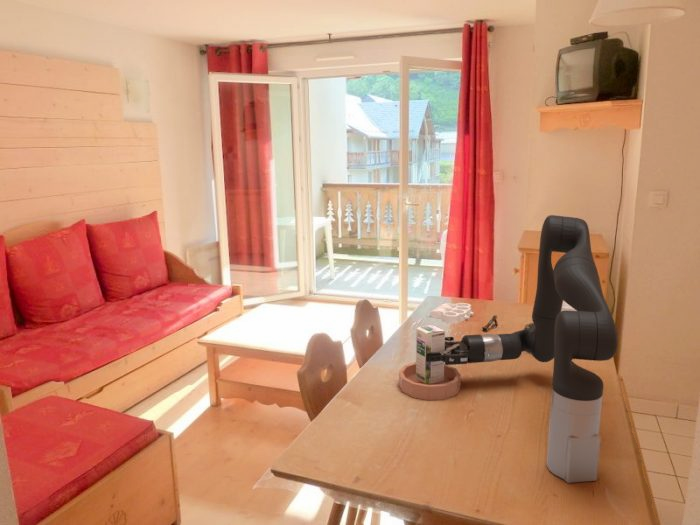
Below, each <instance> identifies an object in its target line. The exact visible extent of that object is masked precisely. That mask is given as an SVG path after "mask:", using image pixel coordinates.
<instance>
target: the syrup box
mask: <svg viewBox="0 0 700 525" xmlns="http://www.w3.org/2000/svg"><path fill="white" fill-rule="evenodd" d="M415 334H416V339H415V340H416V341H415V342H416V345H415V348H416V350H415V352H416V353H415V357H416V358H415V362H416V378H417V379H419V380H421V381H422V382H424V383H426V384H427V385H429V384H433V383H437V382H440V381H443V380H444V364H445V362H441V361H434V362H427V361H426V353H436V352H440V354H441V352H443V351H445V337H446V331H445V330H444V329H442V328H439V327H437V326H435V325H433V324H428V325H422V326H419V327H417V328H416V332H415Z"/></svg>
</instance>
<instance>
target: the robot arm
mask: <svg viewBox="0 0 700 525" xmlns="http://www.w3.org/2000/svg"><path fill="white" fill-rule="evenodd" d="M541 227H542V228H541V231H540V232H541V233H540V238H539V239H540V240H539V241H540V242H539V249H538V252H539V253H538V261H537V262H538V263H537V281H536V293H535V297H534V298H535V299H534V304H533V308H532V315H531V319H532V323H534V325H535V328H528V329H524V328H523V329H521V330H517V331H515V332H512V333H499V334H498V333H481V334H467V335H466V334H465V335H463V336H462V338H461V340H460V341H459V340H455V338H454V336H445V351H443V352H441V354H440V352H436V353H426V361H427V362H434V361H441V362H444V364H445V365H449V366H453V365H454V366H455V365H467V364H477V363H478V364H479V363H480V364H481V363H491V362H492V363H493V362H496V361H497V362H498V361H506V360H507V361H508V360H509V361H510V360H517V359H519V358H520V357H521V355H522V354H523V352H528V351H529V352H528V353H529V354H530V355H532V357H533V358H534V359H535V360H537V361H538V362H541V363H548V362H551V361H552V360H553V373H552V382H551V383H552V386H551V398H550V409H549V422H548V423H549V424H548V438H547V451H546V452H547V453H546V454H547V455H546V467H547V469H548V470H549V471H550V472H551V473H552V474H553V475H554V476H556V477H558V478H560V479H562V480H564V481H565V482H566V483H568V484H569V483H581V482H583V483H584V482H594V481H595V482H596V481H597V479H598V471H599V470H598V468H599V458H600V448H601V440H602V439H601V436H600V424H601V416H602V405H603V397H604V396H603V394H604V382H603V380H602V377H600V376H599V375H598V374H596V373H595V372H593V371H591V370H589V369H586V368H584V367H582V366H580V365H578V364H576V363H575V362H574V361H573V360H583V361H593V362H594V361H597V362H598V361H599V362H603V361H608V360H612V358H614V356H615V355H616V353H617V351H618V344H619V337H618V331H617V330H618V329H617V326H616V323H615V320H614V318H613V315H612V313H611V310H610V308H609V306H608V303H607V302H606V298H605V296H604V294H603V293H604V292H603V289H602V285H601V280H600V279H601V278H600V276H599V273H598V268H597V265H596V263H595V259H594V255H593V253H592V246H591V237H590V236H591V235H590V229H589V225H588V223H587V222H586V220H584V219H582V218H579V217H572V216H566V215H565V216H564V215H563V216H562V215H553V214H551V215H547V216H546V217H545V219H544V220H543V224H542V226H541ZM554 252H557V253H564V254H563V255H562V256H560V258H559V259H558V260H557V262H556V263H555V264H554V266H553V262H552V255H553V254H552V253H554ZM563 302H566V303H567V304H568V305H570V306H571V307H572V308H574V309H575V310H577V311H561V309H562V304H563Z"/></svg>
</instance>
